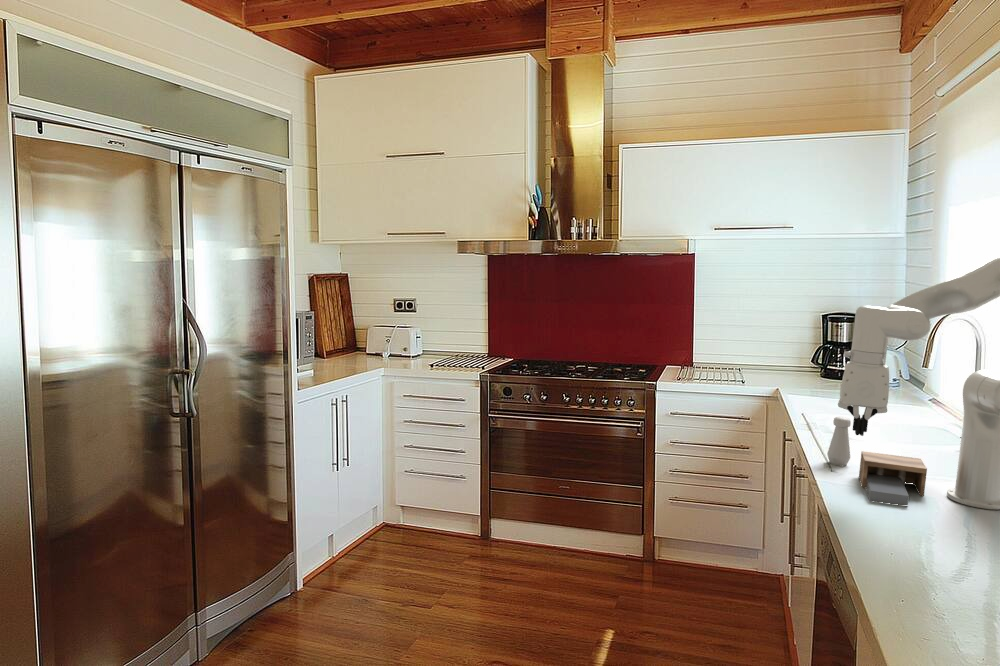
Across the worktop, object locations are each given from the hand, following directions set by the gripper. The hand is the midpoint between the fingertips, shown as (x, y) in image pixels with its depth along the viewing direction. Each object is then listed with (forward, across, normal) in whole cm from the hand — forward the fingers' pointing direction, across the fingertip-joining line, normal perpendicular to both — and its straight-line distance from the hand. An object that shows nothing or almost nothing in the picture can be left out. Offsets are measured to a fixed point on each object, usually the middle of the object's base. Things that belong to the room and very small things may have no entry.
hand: (859, 434), depth 184 cm
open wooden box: (+14, +9, +11) cm, 20 cm away
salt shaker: (+15, -2, +27) cm, 31 cm away
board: (+15, +7, +3) cm, 17 cm away
